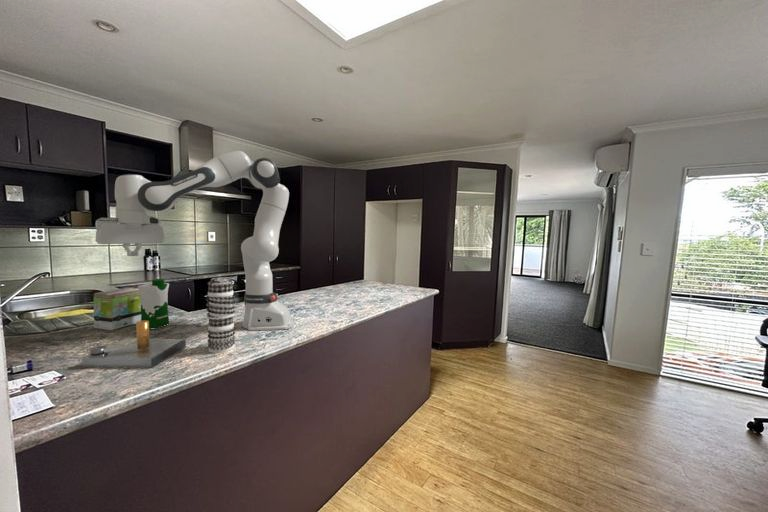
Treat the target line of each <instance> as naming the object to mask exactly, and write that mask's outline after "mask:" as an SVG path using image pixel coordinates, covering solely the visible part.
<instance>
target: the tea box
mask: <svg viewBox="0 0 768 512" xmlns="http://www.w3.org/2000/svg"><path fill="white" fill-rule="evenodd" d="M138 321H141V296H140V292H139V289H138V287H125V288H119V289H114V290H107V291H100V292H99V291H98V292H94V293H93V327H94V329H99V330H107V331H115V330H117V329H121V328H124V327H128V326H132V325H134V324H135V325H136V322H138Z"/></svg>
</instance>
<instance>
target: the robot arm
mask: <svg viewBox="0 0 768 512" xmlns="http://www.w3.org/2000/svg"><path fill="white" fill-rule="evenodd" d="M239 179H245V181H247V182H248V183H249V184H250V185H251V186H253V188H255V189H257V190H260V191H261V190H262V198H261V201H260V204H259V207H258V209H257V212H256V214H255V218H254V228H253V234H252V236H250V237H247V238H246V239H244V240H243V241H242V243H241V244H240V245H241V246H240V250H241V255H242V263H243V268H244V274H245V276H244V277H245V293H244V297H243V298H244V299H243V300H244V306H245V307H244V308H245V309H244V315H243V319H242V324H241V327H243V328H244V329H247V330H248V331H250V332H251V331H253V332H255V331H272V330H273V331H275V330H276V331H277V330H279V331H280V330H287V329H290V328H292V327H293V326H295V324H296V323H297V320H296V319H295V317H291V312H290V309H289V308H288V307H287V306H286V305H284V304H283V303H281V302H280V301H278V295H279V294H278V293H275V292H274V291H273V288H274V287H273V285H274V284H273V272H272V270H271V266H270V262H272V261H274V260H276V258H277V257H278V255H279V252H280V251H279V250H280V248H279V239H280V232H281V228H282V224H283V221H284V218H285V215H286V211H287V208H288V204H289V198H290V192H289V189H288V187H286V186H285V185H284V184H281V183H280V182H281V177H280V174H279V170H278V166H277V165H276V162H274V161H273V160H272V159H270V158H267V157H260V158H257V159H255V160H254V161H253V160H252V159H250V157H249V155H248V154H246V153H245V152H244V151H242V150H234V151H229V152H227V153H224V154H221V155H218V156H216V157H214V158H211V159H209V160H208V161H205V162H204V163H203V164H201V165H199V166H198V167H197V168H194V169H193V170H192V171H190V172H186V173H184V174H182V175H179V176H176V177H174V178H172V179H168V180H165V181H151V180H149V179H147V178H145V177H144V176H143V175H140V174H135V173H128V174H127V173H126V174H120V175H119V176H118V177H116V179H115V183H114V200H115V201H116V205H115V209H114V210H115V212H114V213H115V217H100V218H98V219H96V220H95V224H94V226H95V229H96V231H95V242H96V243H97V244H98V245H122V247H123V248H124V250H125V252H126V256H127V257H138V256H139V252H140V250H141V248H142V246H143V244H163V242H164V241H165V232H164V229H163V226H162V219H161V218H158V217H155V216H152V215H149V214H147V210H150V211H152V212H166V211H167V212H168V211H170V210H171V209H173V208H174V206H175V205H176V201H177V199H178V198H180V197H182V196H185V195H186V194H189V193H191V192H194V191H196V190H198V189H201V188H218V187H219V188H220V187H222V186H226V185H229V184H232V182H233V183H234V182H235V181H237V180H239ZM131 245H134V247H135V249H134V250H131V249H130V247H131Z"/></svg>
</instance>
